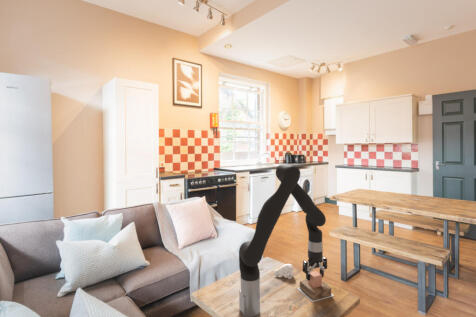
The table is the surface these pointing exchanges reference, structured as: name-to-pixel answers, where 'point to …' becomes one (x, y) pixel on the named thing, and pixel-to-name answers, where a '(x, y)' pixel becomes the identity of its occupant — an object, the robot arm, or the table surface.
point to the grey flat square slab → (311, 298)
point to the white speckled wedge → (284, 271)
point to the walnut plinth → (315, 290)
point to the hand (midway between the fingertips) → (315, 278)
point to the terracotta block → (315, 279)
